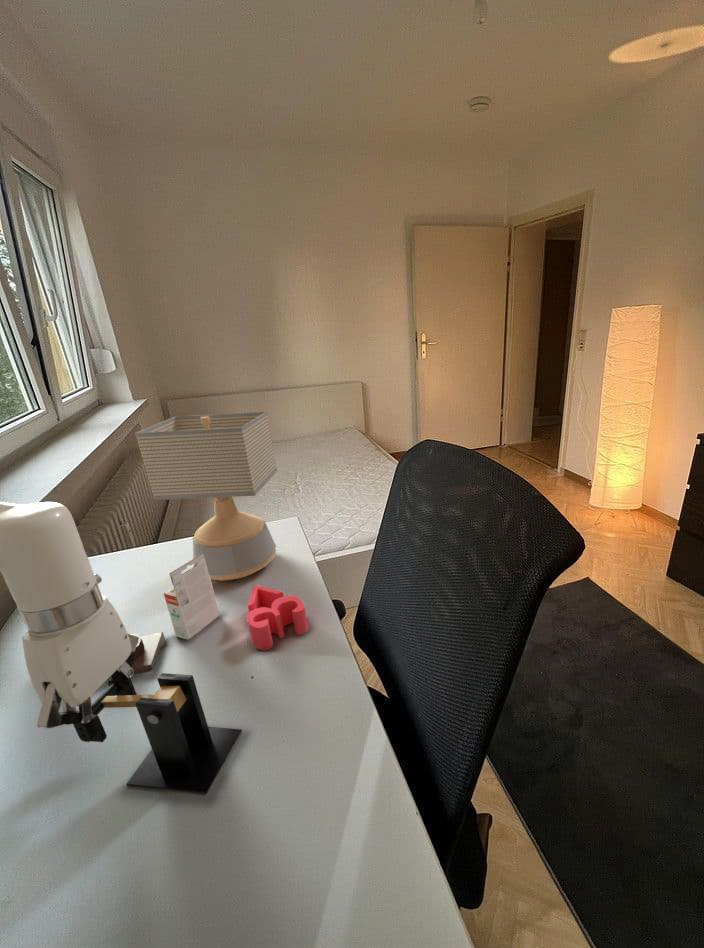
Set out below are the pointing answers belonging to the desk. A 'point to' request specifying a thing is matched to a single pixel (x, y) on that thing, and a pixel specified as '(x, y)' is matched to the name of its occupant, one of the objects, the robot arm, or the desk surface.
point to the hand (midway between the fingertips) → (111, 718)
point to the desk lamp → (216, 482)
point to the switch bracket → (181, 741)
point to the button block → (146, 652)
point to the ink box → (191, 599)
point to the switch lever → (136, 698)
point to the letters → (273, 615)
